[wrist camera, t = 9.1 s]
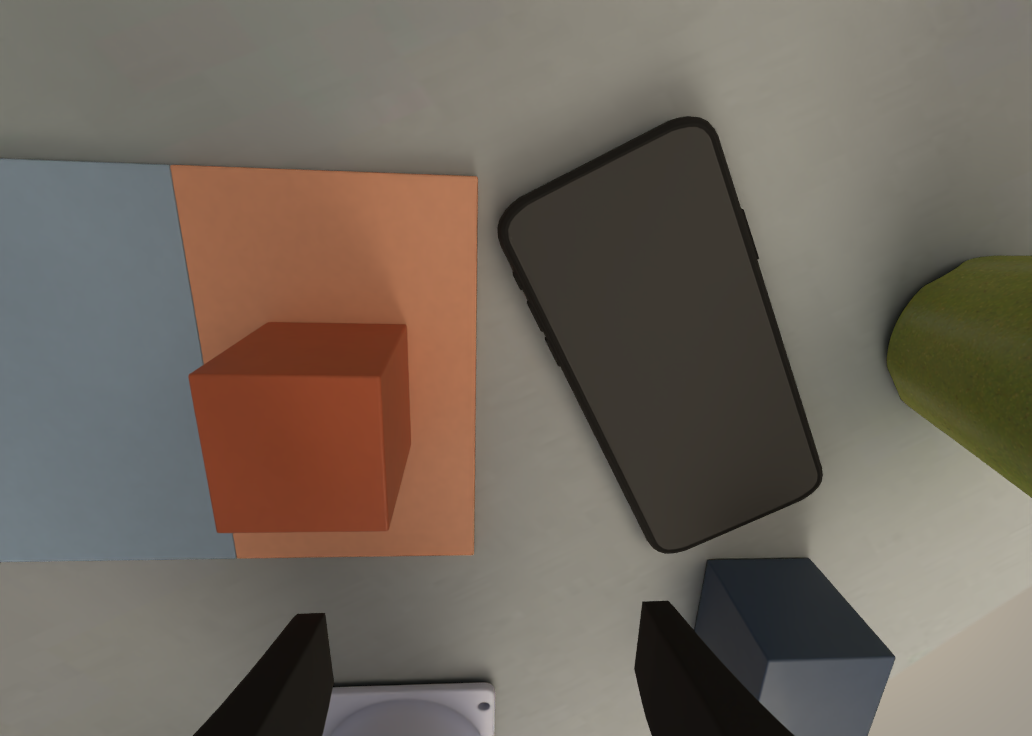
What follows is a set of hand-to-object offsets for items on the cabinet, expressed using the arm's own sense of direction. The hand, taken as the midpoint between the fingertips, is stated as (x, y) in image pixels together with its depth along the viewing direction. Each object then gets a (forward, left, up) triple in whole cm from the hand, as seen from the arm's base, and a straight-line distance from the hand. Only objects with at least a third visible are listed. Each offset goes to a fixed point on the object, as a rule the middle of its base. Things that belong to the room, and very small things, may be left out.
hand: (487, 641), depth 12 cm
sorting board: (+3, +9, -8) cm, 13 cm away
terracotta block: (+3, +5, -8) cm, 10 cm away
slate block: (-7, -12, -8) cm, 16 cm away
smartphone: (+4, -7, -8) cm, 11 cm away
